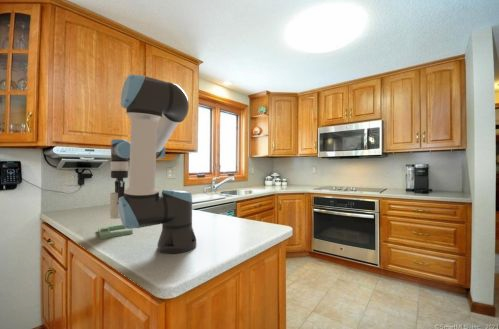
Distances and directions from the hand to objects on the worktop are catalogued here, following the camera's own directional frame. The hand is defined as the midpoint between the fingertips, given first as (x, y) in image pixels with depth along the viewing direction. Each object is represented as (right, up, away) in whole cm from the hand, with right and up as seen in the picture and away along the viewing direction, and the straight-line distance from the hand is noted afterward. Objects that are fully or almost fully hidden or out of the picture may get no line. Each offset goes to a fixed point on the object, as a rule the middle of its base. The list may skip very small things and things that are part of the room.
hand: (119, 215), depth 114 cm
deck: (-2, -8, -2) cm, 9 cm away
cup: (0, -1, 0) cm, 1 cm away
